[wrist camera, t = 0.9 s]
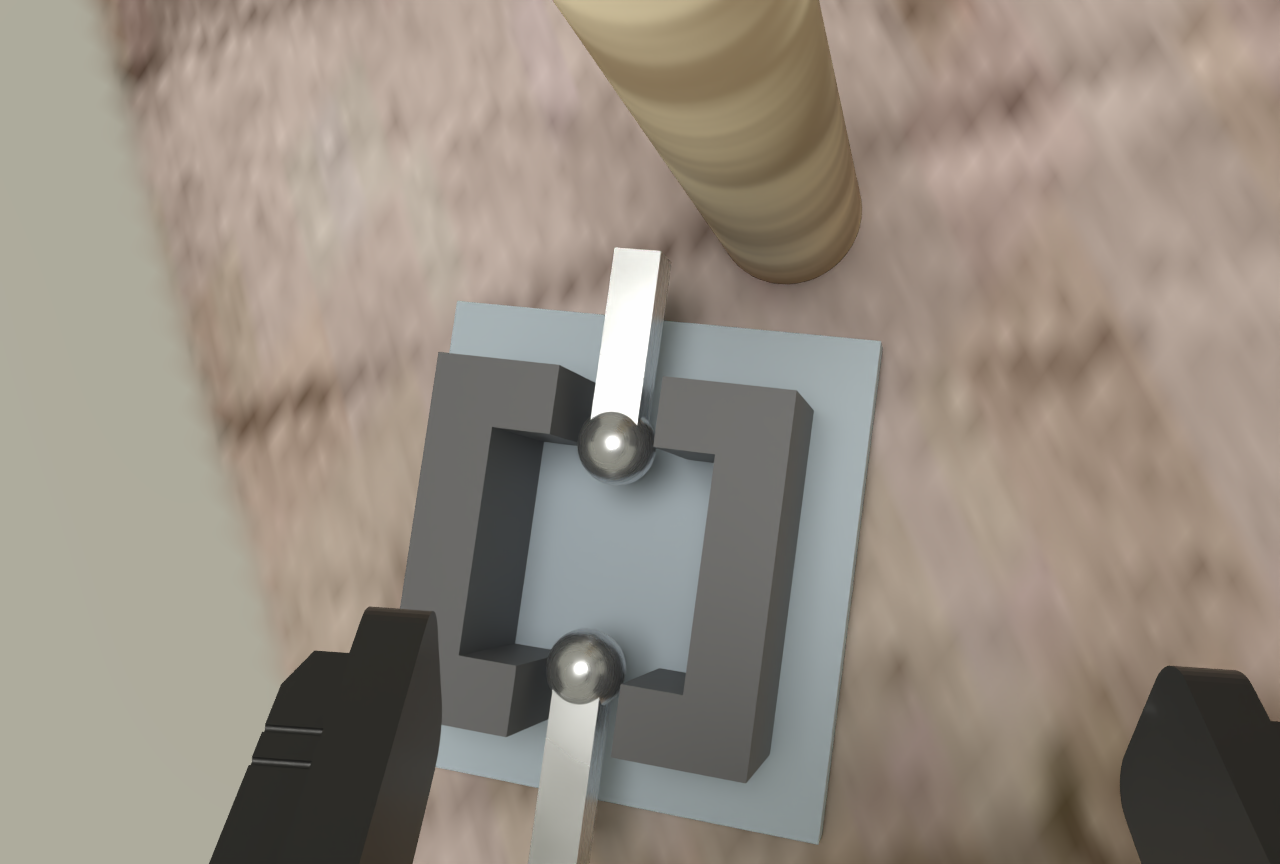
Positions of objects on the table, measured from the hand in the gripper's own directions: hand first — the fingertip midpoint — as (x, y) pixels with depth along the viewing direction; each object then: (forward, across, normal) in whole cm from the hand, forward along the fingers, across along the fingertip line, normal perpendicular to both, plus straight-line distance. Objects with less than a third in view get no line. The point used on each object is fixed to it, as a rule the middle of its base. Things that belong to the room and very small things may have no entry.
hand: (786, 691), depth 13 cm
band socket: (+16, +2, +12) cm, 20 cm away
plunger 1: (+11, +3, +14) cm, 18 cm away
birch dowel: (+21, -2, +3) cm, 22 cm away
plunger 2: (+17, +2, +6) cm, 18 cm away
